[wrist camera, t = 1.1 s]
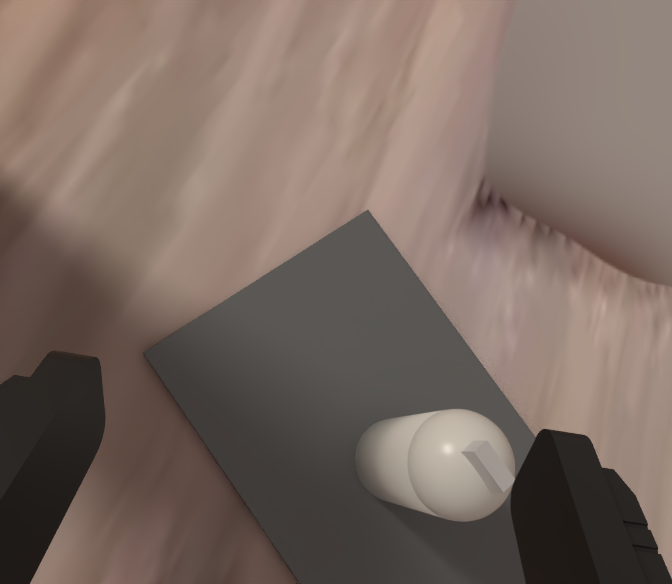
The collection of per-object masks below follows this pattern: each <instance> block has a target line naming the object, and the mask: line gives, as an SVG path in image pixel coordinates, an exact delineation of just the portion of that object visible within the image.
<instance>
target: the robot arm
mask: <svg viewBox="0 0 672 584" xmlns="http://www.w3.org/2000/svg"><path fill="white" fill-rule="evenodd" d="M104 427H105V408H104V398H103V387H102V376H101V366H100V362H99V359H98V358H97V357H92V356H86V355H79V354H73V353H67V352H60V351H52V352H50V353H49V354H47V356H46V357H45V358H44V359H43V361H42V362H41V363H40V365H39V366H38V368H37V369H36V370H35V372H34V373H33V374H32V376H31V377H23V376H17V375H14V376H12V377H11V378H9V379H8V380H6V381H5V382H3V383H2V384H0V584H30V582H31V580H32V578H33V576H34V574H35V572H36V570H37V569H38V567H39V565H40V563H41V561H42V559H43V557H44V555H45V553H46V551H47V549H48V547H49V545H50V543H51V541H52V539H53V537H54V535H55V533H56V531H57V529H58V528H59V526H60V524H61V522H62V520H63V518H64V516H65V514H66V512H67V510H68V508H69V506H70V504H71V502H72V500H73V498H74V496H75V494H76V492H77V490H78V488H79V486H80V485H81V483H82V481H83V479H84V477H85V475H86V473H87V471H88V469H89V467H90V465H91V463H92V461H93V459H94V457H95V455H96V453H97V451H98V449H99V446H100V444H101V441H102V437H103V433H104ZM510 509H511V517H512V521H513V526H514V531H515V535H516V540H517V545H518V549H519V554H520V559H521V563H522V568H523V573H524V577H525V582H526V584H672V579H671V577H670V574H669V572H668V570H667V567H666V565H665V563H664V560H663V558H662V556H661V554H658V546H657V544H656V542H655V539H654V537H653V535H652V532H651V530H648V528H647V526H648V523H647V521H646V519H645V516H644V514H643V512H642V509H641V507H640V505H639V502H638V500H637V498H636V496H635V494H634V493H633V492H632V491H631V490H630V488H629V487H628V486H627V485H626V484H625V482H624V481H623V480H622V479H621V478H620V476H619V475H618V474H617V473H616V472H615V470H614V469H608V468H602V467H601V464H600V462H599V459H598V457H597V454H596V452H595V449H594V447H593V444H592V442H591V440H590V439H589V438H588V437H587V436H585V435H581V434H574V433H568V432H562V431H555V430H549V429H543V430H541V431H540V432H539V433H538V435H537V437H536V439H535V441H534V443H533V445H532V447H531V449H530V450H529V452H528V454H527V456H526V458H525V460H524V462H523V464H522V466H521V468H520V470H519V472H518V474H517V476H516V478H515V480H514V483H513V486H512V491H511V499H510Z"/></svg>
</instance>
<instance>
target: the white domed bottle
mask: <svg viewBox="0 0 672 584" xmlns="http://www.w3.org/2000/svg"><path fill="white" fill-rule="evenodd" d="M355 466H356V471H357V474H358V477H359V479H360V481H361V483H362V484H363V486H364V487H365V488H366V490H367V491H369V492H370V493H371V494H372V495H373V496H375V497H377V498H379V499H381V500H384V501H387V502H390V503H394V504H397V505H400V506H404V507H407V508H410V509H414V510H417V511H420V512H424V513H427V514H431V515H434V516H437V517H441V518H444V519H447V520H452V521H460V522H467V521H474V520H478V519H481V518H484V517H486V516H488V515H490V514H491V513H493V512H494V511H495V510H497V509H498V508H499V507H500V506H501V505H502V504H503V503H504V501H505V500H506V498H507V497H508V495H509V493H510V491H511V488H512V486H513V483H514V480H515V460H514V455H513V451H512V448H511V446H510V444H509V442H508V440H507V438H506V436H505V435H504V433H503V432H502V431H501V429H500V428H499V427H498V426H497V425H496V424H495V423H493V422H492V421H491V420H489V419H488V418H487V417H485V416H483V415H481V414H479V413H476V412H473V411H470V410H465V409H448V410H442V411H435V412H428V413H422V414H415V415H409V416H402V417H396V418H389V419H384V420H381V421H378V422H376V423H374V424H373V425H371V426H370V427H369V428H368V429H367V430H366V431H365V432H364V433H363V435H362V436H361V438H360V440H359V442H358V445H357V448H356V452H355Z"/></svg>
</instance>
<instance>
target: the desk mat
mask: <svg viewBox="0 0 672 584" xmlns="http://www.w3.org/2000/svg"><path fill="white" fill-rule="evenodd" d="M143 353H144V355H145V356H146V358H147V359H148V361H149V362H150V364H151V365H152V367H153V368H154V369H155V371H156V372H157V374H158V375H159V377H160V378H161V380H162V381H163V383H164V384H165V386H166V387H167V389H168V390H169V392H170V393H171V395H172V396H173V397H174V399H175V400H176V402H177V403H178V405H179V406H180V408H181V409H182V411H183V412H184V414H185V415H186V417H187V418H188V420H189V421H190V423H191V424H192V425H193V427H194V428H195V430H196V431H197V433H198V434H199V436H200V437H201V439H202V440H203V442H204V443H205V445H206V446H207V448H208V449H209V451H210V452H211V453H212V455H213V456H214V458H215V459H216V461H217V462H218V464H219V465H220V467H221V468H222V470H223V471H224V473H225V474H226V476H227V477H228V478H229V480H230V481H231V483H232V484H233V486H234V487H235V489H236V490H237V492H238V493H239V495H240V496H241V498H242V499H243V501H244V502H245V504H246V505H247V506H248V508H249V509H250V511H251V512H252V514H253V515H254V517H255V518H256V520H257V521H258V523H259V524H260V526H261V527H262V529H263V530H264V532H265V533H266V534H267V536H268V537H269V539H270V540H271V542H272V543H273V545H274V546H275V548H276V549H277V551H278V552H279V554H280V555H281V557H282V558H283V560H284V561H285V562H286V564H287V565H288V567H289V568H290V570H291V571H292V573H293V574H294V576H295V577H296V579H297V580H298V582H299V583H300V584H526V582H525V577H524V573H523V568H522V563H521V559H520V554H519V549H518V545H517V540H516V535H515V531H514V526H513V521H512V517H511V509H510V499H511V491H512V488H511V491H510V493H509V495H508V497H507V498H506V500H505V501H504V503H503V504H502V505H501V506H500V507H499V508H498V509H497V510H495V511H494V512H493V513H491V514H490V515H488V516H486V517H484V518H481V519H478V520H474V521H467V522H460V521H452V520H447V519H444V518H441V517H437V516H434V515H431V514H427V513H424V512H420V511H417V510H414V509H410V508H407V507H404V506H400V505H397V504H394V503H390V502H387V501H384V500H381V499H379V498H377V497H375V496H373V495H372V494H371V493H370V492H369V491H367V490H366V488H365V487H364V486H363V484H362V483H361V481H360V479H359V477H358V474H357V471H356V466H355V452H356V448H357V445H358V442H359V440H360V438H361V436H362V435H363V433H364V432H365V431H366V430H367V429H368V428H369V427H370V426H371V425H373V424H374V423H376V422H378V421H381V420H384V419H389V418H396V417H402V416H409V415H415V414H422V413H428V412H435V411H442V410H448V409H465V410H470V411H473V412H476V413H479V414H481V415H483V416H485V417H487V418H488V419H489V420H491V421H492V422H493V423H495V424H496V425H497V426H498V427H499V428H500V429H501V431H502V432H503V433H504V435H505V436H506V438H507V440H508V442H509V444H510V446H511V448H512V451H513V455H514V460H515V478H516V476H517V474H518V472H519V470H520V468H521V466H522V464H523V462H524V460H525V458H526V456H527V454H528V452H529V450H530V449H531V447H532V445H533V443H534V441H535V439H536V437H535V436H534V435H533V433H532V432H531V431H530V429H529V428H528V427H527V425H526V424H525V423H524V421H523V420H522V418H521V417H520V416H519V414H518V413H517V412H516V410H515V409H514V408H513V406H512V405H511V403H510V402H509V401H508V399H507V398H506V397H505V395H504V394H503V393H502V391H501V390H500V389H499V387H498V386H497V384H496V383H495V382H494V380H493V379H492V378H491V376H490V375H489V374H488V372H487V371H486V369H485V368H484V367H483V365H482V364H481V363H480V361H479V360H478V359H477V357H476V356H475V354H474V353H473V352H472V350H471V349H470V348H469V346H468V345H467V344H466V342H465V341H464V340H463V338H462V337H461V335H460V334H459V333H458V331H457V330H456V329H455V327H454V326H453V325H452V323H451V322H450V320H449V319H448V318H447V316H446V315H445V314H444V312H443V311H442V310H441V308H440V307H439V306H438V304H437V303H436V301H435V300H434V299H433V297H432V296H431V295H430V293H429V292H428V291H427V289H426V288H425V286H424V285H423V284H422V282H421V281H420V280H419V278H418V277H417V276H416V274H415V273H414V272H413V270H412V269H411V267H410V266H409V265H408V263H407V262H406V261H405V259H404V258H403V257H402V255H401V254H400V252H399V251H398V250H397V248H396V247H395V246H394V244H393V243H392V242H391V240H390V239H389V238H388V236H387V235H386V233H385V232H384V231H383V229H382V228H381V227H380V225H379V224H378V223H377V221H376V220H375V218H374V217H373V216H372V214H371V213H370V212H369V210H367V211H365V212H363V213H362V214H360V215H359V216H357V217H356V218H354V219H352V220H351V221H349V222H348V223H346V224H345V225H343V226H341V227H340V228H338V229H337V230H335V231H334V232H332V233H330V234H329V235H327V236H326V237H324V238H323V239H321V240H319V241H318V242H316V243H315V244H313V245H312V246H310V247H308V248H307V249H305V250H304V251H302V252H301V253H299V254H297V255H296V256H294V257H293V258H291V259H290V260H288V261H286V262H285V263H283V264H282V265H280V266H278V267H277V268H275V269H274V270H272V271H271V272H269V273H267V274H266V275H264V276H263V277H261V278H260V279H258V280H256V281H255V282H253V283H252V284H250V285H249V286H247V287H245V288H244V289H242V290H241V291H239V292H238V293H236V294H234V295H233V296H231V297H230V298H228V299H227V300H225V301H223V302H222V303H220V304H219V305H217V306H216V307H214V308H212V309H211V310H209V311H208V312H206V313H205V314H203V315H201V316H200V317H198V318H197V319H195V320H193V321H192V322H190V323H189V324H187V325H186V326H184V327H182V328H181V329H179V330H178V331H176V332H175V333H173V334H171V335H170V336H168V337H167V338H165V339H164V340H162V341H160V342H159V343H157V344H156V345H154V346H153V347H151V348H149V349H148V350H146V351H145V352H143Z"/></svg>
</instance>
